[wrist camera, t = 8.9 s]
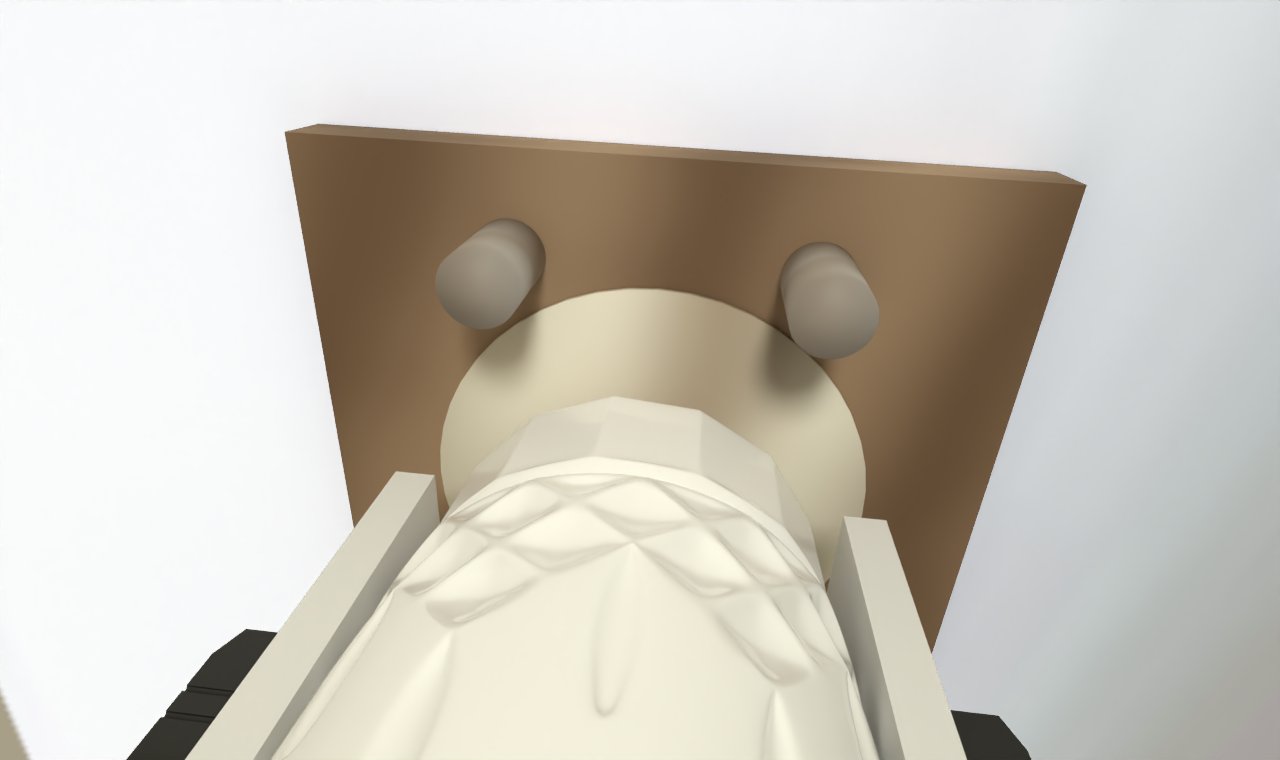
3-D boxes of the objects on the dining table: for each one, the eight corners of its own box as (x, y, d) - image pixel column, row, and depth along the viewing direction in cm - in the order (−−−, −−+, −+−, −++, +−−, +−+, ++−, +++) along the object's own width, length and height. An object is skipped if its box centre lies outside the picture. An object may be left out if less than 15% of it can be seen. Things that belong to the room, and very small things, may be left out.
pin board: (1055, 171, 13) (1152, 212, 10) (893, 698, 19) (923, 815, 16) (318, 124, 14) (213, 148, 11) (397, 637, 20) (343, 737, 17)
